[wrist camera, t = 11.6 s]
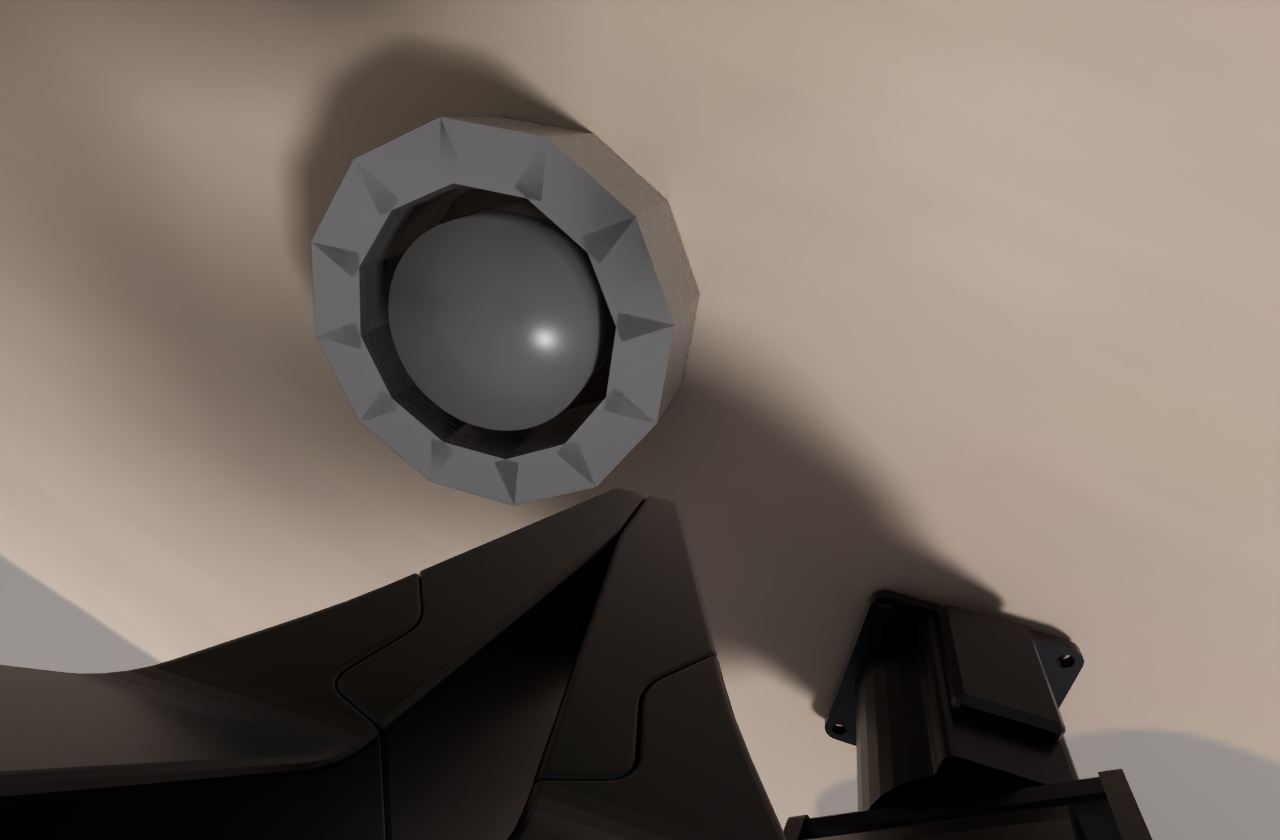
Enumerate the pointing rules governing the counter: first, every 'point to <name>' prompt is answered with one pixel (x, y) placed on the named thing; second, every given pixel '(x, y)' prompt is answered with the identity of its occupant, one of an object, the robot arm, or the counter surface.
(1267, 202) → the counter surface
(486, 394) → the cap
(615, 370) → the ring mount
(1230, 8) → the counter surface
